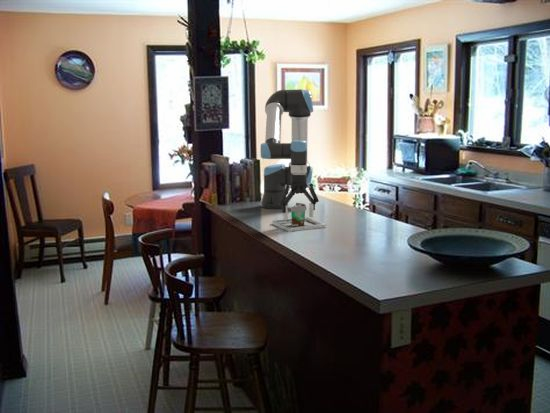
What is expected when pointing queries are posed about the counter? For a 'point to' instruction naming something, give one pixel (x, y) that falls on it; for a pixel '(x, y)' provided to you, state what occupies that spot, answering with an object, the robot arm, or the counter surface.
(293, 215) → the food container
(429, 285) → the counter surface
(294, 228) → the grey square frame
